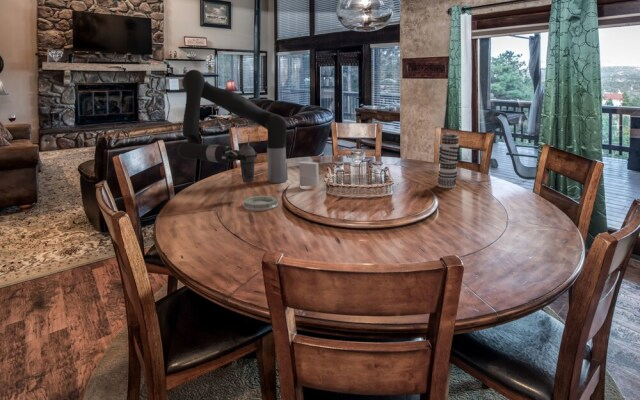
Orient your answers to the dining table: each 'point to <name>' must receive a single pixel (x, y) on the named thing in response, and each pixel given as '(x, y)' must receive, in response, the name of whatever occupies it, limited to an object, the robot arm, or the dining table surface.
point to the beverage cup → (247, 163)
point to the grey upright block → (308, 173)
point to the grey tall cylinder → (448, 160)
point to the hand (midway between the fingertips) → (251, 156)
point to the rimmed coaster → (260, 203)
